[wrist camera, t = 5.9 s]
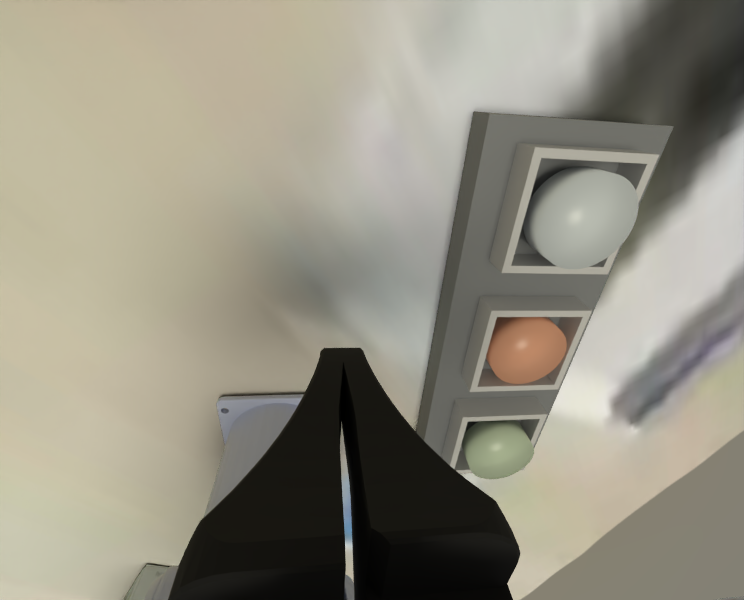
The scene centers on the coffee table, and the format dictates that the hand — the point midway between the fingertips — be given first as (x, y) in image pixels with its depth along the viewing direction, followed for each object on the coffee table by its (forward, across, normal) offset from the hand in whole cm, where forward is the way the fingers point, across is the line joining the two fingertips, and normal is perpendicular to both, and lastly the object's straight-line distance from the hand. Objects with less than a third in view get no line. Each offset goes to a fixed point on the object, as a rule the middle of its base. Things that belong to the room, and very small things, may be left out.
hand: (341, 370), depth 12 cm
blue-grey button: (+6, -11, -4) cm, 13 cm away
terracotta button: (+7, -11, +4) cm, 14 cm away
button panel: (+9, -11, +4) cm, 15 cm away
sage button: (+6, -11, +12) cm, 17 cm away
